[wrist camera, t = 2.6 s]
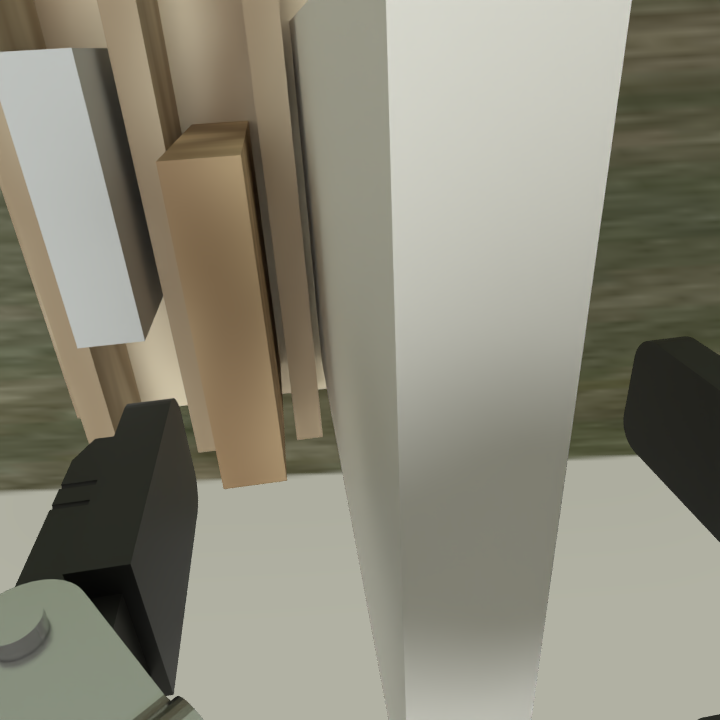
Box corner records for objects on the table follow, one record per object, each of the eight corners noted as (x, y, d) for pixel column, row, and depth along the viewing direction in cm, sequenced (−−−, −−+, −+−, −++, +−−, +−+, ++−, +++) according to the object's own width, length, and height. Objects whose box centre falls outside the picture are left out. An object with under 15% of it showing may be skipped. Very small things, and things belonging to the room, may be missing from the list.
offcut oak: (248, 120, 21) (240, 155, 14) (280, 364, 26) (287, 480, 19) (191, 124, 21) (155, 161, 14) (234, 369, 26) (224, 489, 19)
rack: (430, -34, 21) (476, -58, 16) (429, 363, 28) (461, 423, 24) (-49, -11, 19) (-146, -30, 15) (84, 403, 27) (48, 476, 22)
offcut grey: (122, 48, 20) (71, 47, 14) (171, 275, 23) (145, 341, 18) (60, 51, 19) (-15, 52, 14) (119, 280, 23) (77, 348, 18)
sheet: (347, 18, 20) (644, -94, 4) (366, 354, 26) (518, 809, 11) (289, 21, 20) (383, -84, 4) (321, 359, 26) (409, 830, 10)
